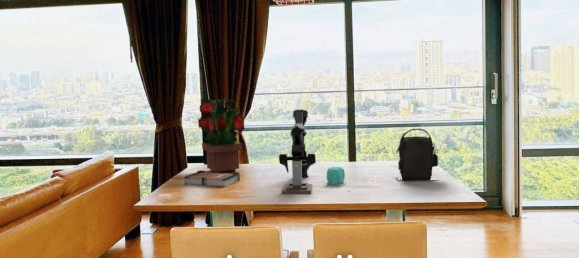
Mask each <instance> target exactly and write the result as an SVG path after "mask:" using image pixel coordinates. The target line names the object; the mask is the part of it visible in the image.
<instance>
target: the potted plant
mask: <svg viewBox="0 0 579 258" xmlns="http://www.w3.org/2000/svg"><path fill="white" fill-rule="evenodd" d="M235 103H236V99H233V98H232V99H231V98H230V99H229V98H222V99H203V102H202V104H201V105H199V111H200V113H202V115H203V116H200V118H199V117H197V118H198V119H197V120H198V123H197V125H198V128H200V130H202V131H203V132H204V133H205V134H206V136H205V137H204V138H203V140H204V142H202V143H201V149H202V150H203V151H205V153H206V168H207V169H209V170H211V172H212V173H227V174H229V173H234V172H236V170H239V169H240V160H239V159H240V158H239V157H240V156H239V155H240V154H239V151H243V143H241V142H237V140H238V139H237V137H236V136H237V133H239V134H242V132H243V131H245V118H244V116H243V115H242V114H241V112H240V113H237V112H239V107H236V106H235V107H234V106H233V105H232V104H235ZM236 131H237V132H236Z"/></svg>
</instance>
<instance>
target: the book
mask: <svg viewBox="0 0 579 258" xmlns="http://www.w3.org/2000/svg"><path fill="white" fill-rule="evenodd" d="M240 175H241V174H240V172H236V171H235V172H231V173H215V172H207V171H205V170H198V171H196V172H194V173H191V174H188V175H186V176H184V177H183V179H184V185H188V184H191V185H190V186H192V185H193V186H202V185H203V187H217V188H218V187H220V188H227V187H228V186H231V185H233V184H235V183H238V182H239V181H241V180H240V179H241V177H240Z"/></svg>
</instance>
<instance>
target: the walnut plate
mask: <svg viewBox="0 0 579 258" xmlns="http://www.w3.org/2000/svg"><path fill="white" fill-rule="evenodd" d="M283 185H284V186H283V187H282V189H281V190H282V191H281V194H282V195H307V194H309V195H310V194H312V192H313V191H312V190H313V183H308V182H302V187H298V188H293V182H292V183H290V182H289V183H286V184H283Z"/></svg>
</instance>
